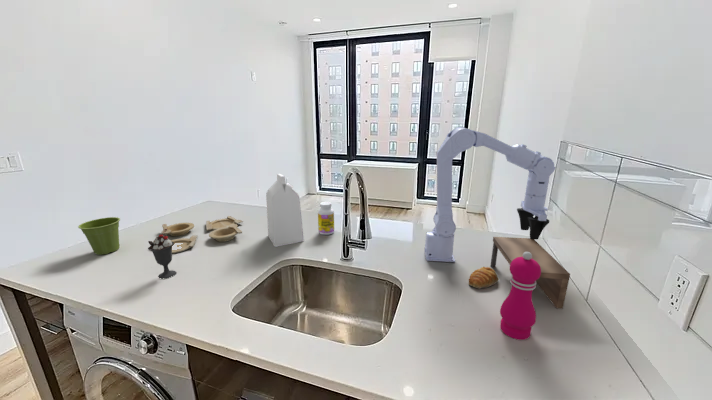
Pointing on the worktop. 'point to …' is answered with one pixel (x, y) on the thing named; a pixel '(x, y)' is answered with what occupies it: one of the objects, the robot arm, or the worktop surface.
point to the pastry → (483, 278)
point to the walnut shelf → (551, 271)
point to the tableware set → (221, 227)
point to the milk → (283, 213)
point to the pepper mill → (520, 298)
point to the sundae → (163, 254)
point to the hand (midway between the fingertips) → (529, 234)
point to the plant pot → (102, 234)
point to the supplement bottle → (325, 219)
